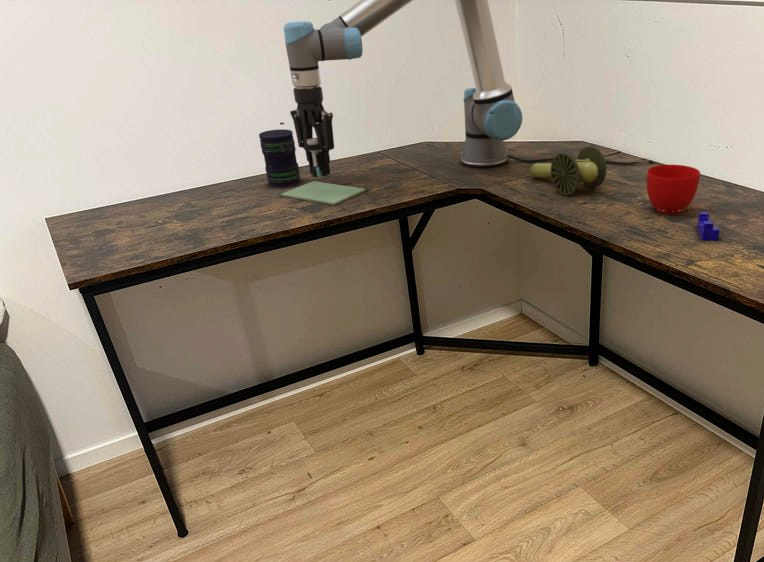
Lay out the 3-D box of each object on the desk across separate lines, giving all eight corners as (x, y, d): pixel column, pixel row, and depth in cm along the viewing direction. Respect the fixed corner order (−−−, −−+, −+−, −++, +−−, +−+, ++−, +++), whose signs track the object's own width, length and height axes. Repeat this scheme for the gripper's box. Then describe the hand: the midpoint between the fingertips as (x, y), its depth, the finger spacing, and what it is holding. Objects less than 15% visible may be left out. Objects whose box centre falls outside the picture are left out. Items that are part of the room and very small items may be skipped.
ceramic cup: (701, 200, 180) (706, 163, 175) (690, 221, 167) (695, 181, 162) (653, 195, 185) (656, 158, 180) (638, 215, 172) (641, 176, 167)
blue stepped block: (717, 240, 156) (720, 223, 154) (702, 240, 156) (704, 223, 154) (712, 228, 162) (714, 212, 160) (697, 228, 163) (699, 212, 161)
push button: (316, 171, 195) (310, 136, 190) (333, 171, 194) (327, 135, 189) (307, 178, 190) (300, 141, 185) (325, 177, 189) (318, 141, 184)
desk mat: (365, 190, 197) (365, 188, 197) (334, 205, 187) (334, 203, 186) (313, 182, 206) (313, 180, 205) (281, 195, 195) (280, 193, 195)
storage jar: (261, 186, 204) (249, 125, 195) (281, 177, 212) (270, 118, 202) (288, 189, 201) (277, 127, 191) (307, 180, 208) (297, 119, 199)
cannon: (519, 181, 200) (519, 142, 194) (549, 173, 206) (550, 135, 200) (578, 200, 183) (580, 158, 177) (609, 191, 189) (612, 150, 183)
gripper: (274, 87, 181) (289, 174, 193) (321, 90, 173) (334, 181, 186) (293, 82, 186) (307, 167, 198) (340, 86, 179) (351, 173, 191)
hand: (320, 173), depth 192 cm, fingers closed on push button, 3 cm apart
